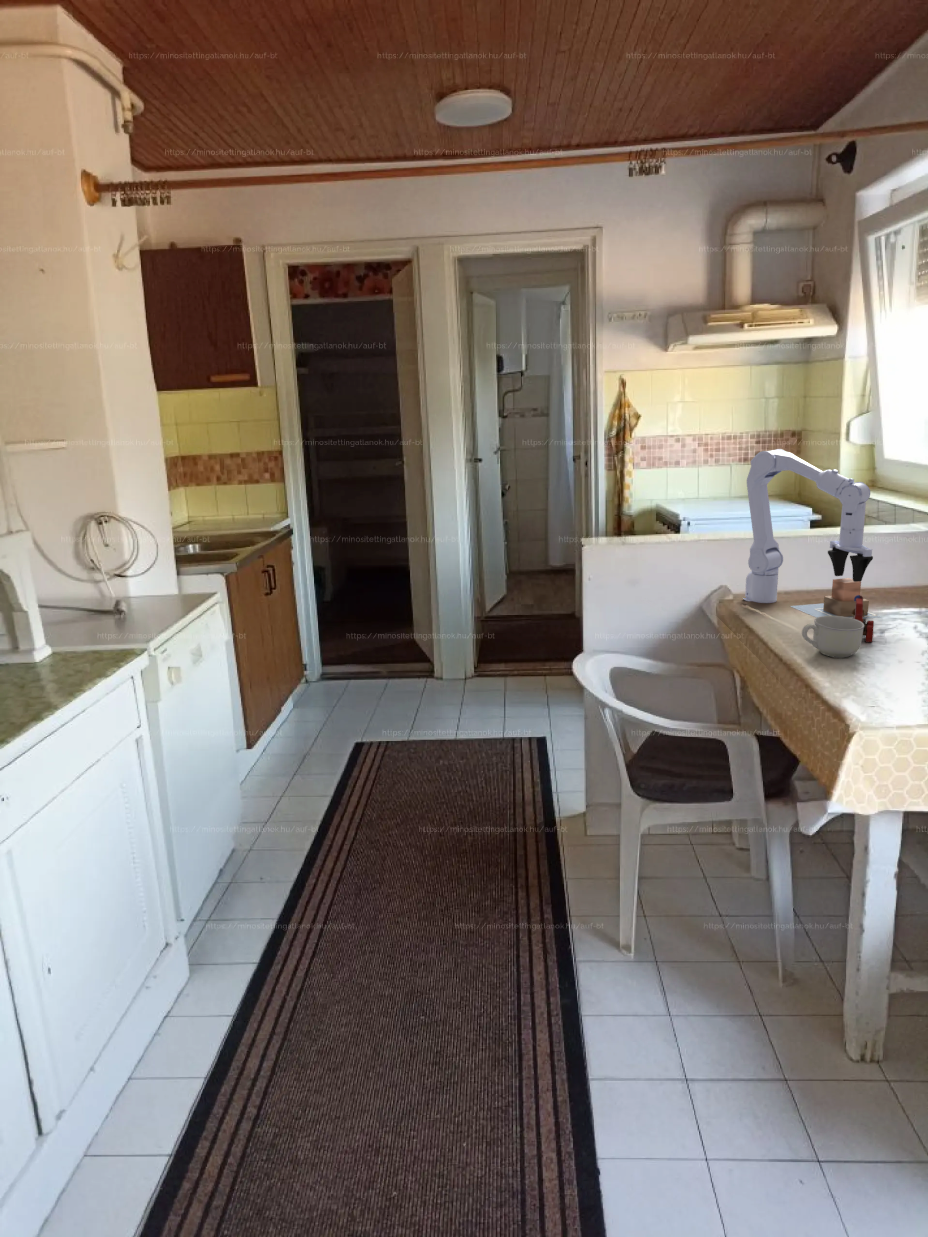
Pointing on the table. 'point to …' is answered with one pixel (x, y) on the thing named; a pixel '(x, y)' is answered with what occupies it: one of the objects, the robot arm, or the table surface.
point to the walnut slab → (842, 606)
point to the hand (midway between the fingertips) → (847, 578)
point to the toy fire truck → (859, 614)
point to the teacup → (835, 635)
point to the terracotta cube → (845, 589)
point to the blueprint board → (818, 611)
